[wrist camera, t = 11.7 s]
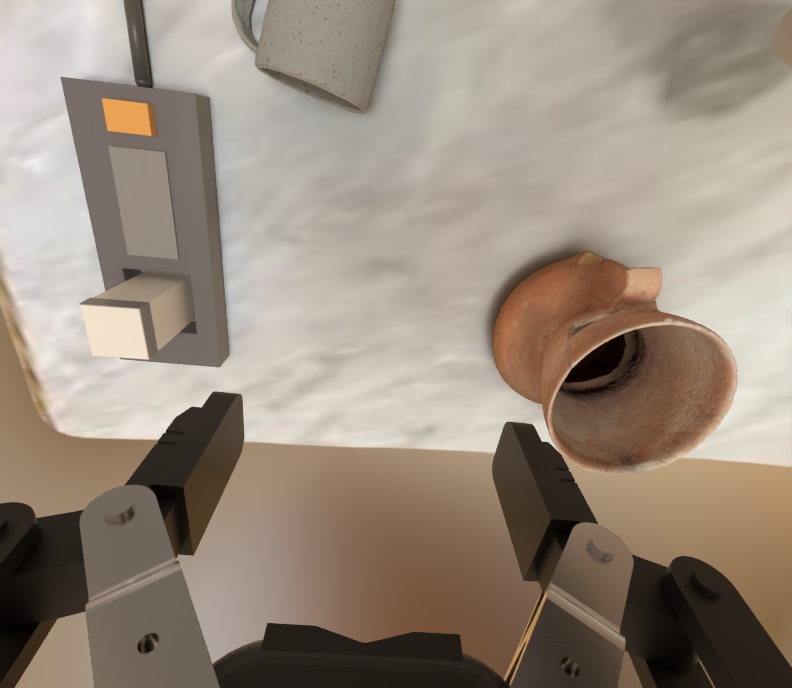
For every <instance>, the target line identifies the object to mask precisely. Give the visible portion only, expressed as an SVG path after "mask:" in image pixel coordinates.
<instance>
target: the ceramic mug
mask: <svg viewBox="0 0 792 688" xmlns="http://www.w3.org/2000/svg"><path fill="white" fill-rule="evenodd" d="M394 1H395V0H269V2H268V6H267V10H266V14H265V18H264V23H263V27H262V32H261V36H260V40H259V44H257V43H256V41H255V39H254V38H253V36H252V33H251V29H250V14H251V9H252V5H253V2H254V0H232V16H233V21H234V24H235V26H236V29H237V31H238V33H239V35H240V36H241V38H242V40H243V41H244V42H245V44H246V45H247V46H248V47H249V48H250V49H251V50H252V51H254V52H255V53H256V59H255V65H256V67H257V68H258V69H259V70H260V71H262V72H263V73H265V74H267V75H269V76H270V77H272V78H274V79H276V80H278V81H280V82H282V83H283V84H286V85H288V86H290V87H292V88H294V89H296V90H298V91H300V92H303V93H306V94H308V95H310V96H312V97H314V98H316V99H319V100H321V101H324V102H327V103H329V104H331V105H335V106H337V107H340V108H343V109H346V110H349V111H353V112H356V113H364V112H366V110H367V109H368V105H369V101H370V97H371V93H372V89H373V85H374V82H375V78H376V74H377V70H378V66H379V63H380V59H381V54H382V50H383V46H384V43H385V39H386V35H387V31H388V28H389V24H390V20H391V17H392V13H393V9H394Z"/></svg>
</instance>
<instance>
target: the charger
mask: <svg viewBox="0 0 792 688" xmlns="http://www.w3.org/2000/svg"><path fill="white" fill-rule="evenodd" d="M80 309H81V313H82V317H83V320H84V324H85V328H86V332H87V336H88V340H89V344H90V348H91V352H92V355H93V356H105V357H119V358H133V359H147V360H150V359H151V358H152V357H154V356H155V355H156V354H157V353H158V351H159V350H160V349H161V348H162V347H163V346H164V345H166V344H167V343H168V342H169V341H170V340H171V339H172V338H173V337H175V336H176V335H177V334H178V333H179V332H180V331H181V330H182V329H184V328H185V327H186V326H187V325H188V324H189V323H190V322H192V321H193V320H194V319H195V310H194V301H193V293H192V284H191V275H189V274H179V273H169V272H158V271H148V270H147V271H145V272H143V273H141V274H139V275H137V276H135V277H133V278H131V279H129V280H127V281H125V282H123V283H121V284H119V285H117V286H115V287H113V288H111V289H109V290H107V291H105V292H103V293H101V294H100V295H98V296H96V297H94V298H89V299H87V300H85V301H83V302H81V303H80Z"/></svg>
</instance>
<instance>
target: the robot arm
mask: <svg viewBox="0 0 792 688" xmlns="http://www.w3.org/2000/svg"><path fill="white" fill-rule="evenodd" d="M243 443H244V421H243V401H242V396H241V394H235V393H225V392H213V393H212V394H211V395H210V396H209V398H208V399H207V401H206V402H205V404H204V405H203V407H202V408H199V407H191V408H189V409H188V410H186V411H185V412H183V413H182V414H180V415H179V416H177V417H176V418H175V419H174V420H173V422H172V423H171V424H170V426H169V427H168V428H167V430H166V433H164V434H163V435H162V436H161V438H160V439H159V440H158V443H157V444H155V446H154V447H153V448H152V450H151V451H150V452H149V454H148V455H147V456H146V458H145V459H144V460H143V461H142V463H141V464H140V466H139V467H138V468H137V470H136V471H135V472H134V473H133V475H132V476H131V477H130V479H129V480H128V481H127V483H126V484H125V485H124V486H120V487H117V488H114V489H111V490H109V491H107V492H105V493H103V494H101V495H100V496H98V497H96V498H95V499H94V500H92V501H91V502H90V503H89V504H88V505H87V507H86V508H85V509H84V510H80V511H76V512H70V513H65V514H58V515H52V516H47V517H41V518H36V516H35V513H34V511H33V509H32V508H31V507H30V506H28V505H26V504H23V503H17V502H12V503H2V504H0V688H15V686H16V684H17V683H18V681H19V680H20V678H21V676H22V674H23V673H24V671H25V670H26V668H27V667H28V665H29V664H30V662H31V660H32V659H33V657H34V656H35V654H36V652H37V651H38V649H39V647H40V646H41V644H42V643H43V641H44V639H45V638H46V636H47V635H48V633H49V631H50V630H51V628H52V627H53V625H54V623H55V622H56V620H57V619H58V618H61V617H65V616H69V615H73V614H77V613H81V612H85V611H86V620H87V629H88V638H89V646H90V655H91V663H92V671H93V680H94V688H617V687H618V682H619V676H620V671H621V666H622V660H623V656H624V651H627V652H628V653H629V655H630V657H631V660H632V662H633V665H634V667H635V670H636V672H637V675H638V677H639V679H640V682H641V684H642V687H643V688H713V687H712V685H711V683H710V681H709V679H708V677H707V675H706V674H705V672H704V670H703V668H702V666H701V664H700V662H699V660H701V662H702V664H703V665H704V667H705V669H706V671H707V673H708V675H709V677H710V678H711V680H712V682H713V684H714V686H715V688H792V667H791V666H790V665H789V663H788V662H787V660H786V659H785V658H784V656H783V655H782V653H781V652H780V650H779V649H778V648H777V646H776V645H775V644H774V642H773V641H772V639H771V638H770V636H769V635H768V633H767V632H766V631H765V629H764V628H763V626H762V625H761V624H760V622H759V621H758V619H757V618H756V616H755V615H754V614H753V612H752V611H751V609H750V608H749V607H748V605H747V604H746V602H745V601H744V599H743V598H742V597H741V595H740V594H739V592H738V591H737V590H736V588H735V587H734V586H733V584H732V583H731V582H730V581H729V580H728V579H727V578H726V577H725V576H724V575H723V574H722V573H720V572H719V571H718V570H716V569H715V568H713V567H712V566H710V565H709V564H707V563H705V562H703V561H701V560H698V559H695V558H693V557H688V556H687V557H686V556H681V557H677V558H675V559H674V560H673V561H672V562H671V564H670V565H669V567H665V566H662V565H659V564H657V563H654V562H651V561H648V560H645V559H643V558H640V557H637V556H635V555H632V554H631V552H630V550H629V548H628V547H627V545H626V544H625V543H624V542H623V541H622V539H621V538H619V537H618V536H617V535H616V534H615V533H613V532H612V531H610V530H609V529H607V528H605V527H603V526H601V525H598V523H597V521H596V519H595V517H594V515H593V513H592V512H591V510H590V508H589V506H588V504H587V502H586V500H585V498H584V496H583V495H582V493H581V491H580V489H579V487H578V485H577V483H575V480H574V478H573V476H572V474H571V472H570V471H569V468H568V466H567V465H566V463H565V461H564V459H563V457H562V455H561V454H560V453H559V452H558V451H557V450H556V449H555V448H554V447H553V446H552V445H551V444H550V443H549V442H542V441H541V439H540V437H539V435H538V433H537V431H536V429H535V427H534V426H533V425H532V424H526V423H516V422H506V424H505V425H504V428H503V431H502V434H501V437H500V440H499V443H498V446H497V449H496V453H495V456H494V459H493V465H492V474H493V480H494V483H495V487H496V490H497V493H498V497H499V500H500V503H501V507H502V510H503V514H504V517H505V520H506V524H507V527H508V530H509V534H510V537H511V540H512V544H513V547H514V550H515V553H516V557H517V560H518V564H519V567H520V570H521V574H522V577H523V580H524V581H537V582H539V583H540V586H541V589H542V592H541V594H540V596H539V599H538V601H537V603H536V606H535V608H534V610H533V613H532V616H531V617H530V620H529V623H528V625H527V627H526V629H525V632H524V634H523V637H522V639H521V641H520V644H519V646H518V649H517V651H516V654H515V655H514V658H513V660H512V662H511V664H510V667H509V669H508V671H507V673H506V676H505V678H504V679H503V678H502V677H501V676H500V675H498V674H497V673H496V672H495V671H494V670H493V669H491V668H490V667H489V666H487V665H486V664H484V663H483V662H482V661H480V660H479V659H477V658H475V657H473V656H471V655H468V654H467V653H464V652H462V648H461V641H460V635H456V634H440V633H423V632H412V633H407V634H403V635H399V636H394V637H391V638H386V639H382V640H378V641H374V642H369V643H362V642H358V641H356V640H353V639H350V638H348V637H345V636H342V635H339V634H336V633H334V632H331V631H328V630H326V629H323V628H320V627H317V626H308V625H290V624H275V623H268V624H267V627H266V631H265V635H264V639H263V640H260V641H255V642H252V643H250V644H247V645H244V646H242V647H240V648H238V649H236V650H234V651H232V652H230V653H228V654H226V655H225V656H223V657H222V658H220V659H219V660H217V661H216V662H215V663H214V664H212V662H211V658H210V655H209V652H208V649H207V646H206V643H205V640H204V637H203V634H202V631H201V628H200V625H199V621H198V618H197V615H196V612H195V609H194V606H193V603H192V600H191V596H190V593H189V590H188V587H187V584H186V581H185V578H184V575H183V572H182V569H181V566H180V563H179V561H176V558H177V556H178V554H180V555H194V554H195V551H196V549H197V547H198V545H199V543H200V541H201V538H202V536H203V534H204V532H205V530H206V528H207V526H208V524H209V521H210V519H211V517H212V515H213V512H214V511H215V508H216V506H217V504H218V502H219V500H220V498H221V496H222V494H223V491H224V489H225V487H226V485H227V483H228V480H229V478H230V476H231V474H232V472H233V470H234V468H235V465H236V463H237V461H238V459H239V457H240V454H241V452H242V447H243Z"/></svg>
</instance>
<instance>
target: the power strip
mask: <svg viewBox="0 0 792 688" xmlns="http://www.w3.org/2000/svg"><path fill="white" fill-rule="evenodd" d="M124 7H125V14H126V21H127V28H128V35H129V42H130V49H131V56H132V63H133V69H134V76H135V82H136V84H137V85H138V86H139V87H137V86H129V85H121V84H113V83H106V82H98V81H90V80H82V79H74V78H66V77H61V81H62V86H63V91H64V96H65V100H66V105H67V110H68V115H69V119H70V124H71V129H72V134H73V138H74V143H75V148H76V153H77V157H78V162H79V167H80V172H81V176H82V181H83V186H84V191H85V195H86V200H87V205H88V210H89V214H90V219H91V224H92V229H93V233H94V238H95V243H96V248H97V252H98V257H99V262H100V267H101V271H102V276H103V281H104V286H105V290H106V291H107V290H109V289H111V288H113V287H115V286H117V285H119V284H121V283H123V282H125V281H127V280H129V279H131V278H133V277H135V276H137V275H139V274H141V270H148V271H158V272H169V273H179V274H189V275H191V284H192V293H193V301H194V310H195V319H196V322H190V323H189V324H188V325H187V326H186V327H185V328H184V329H182V330H181V331H180V332H179V333H178V334H177V335H176V336H175V337H173V338H172V339H171V340H170V341H169V342H168V343H167V344H166V345H164V346H163V347H162V348H161V349H160V350H159V351H158V353H157V354H156V355H155V356H154V357H152V358H151V359H150V360H147V359H133V358H120V359H125V360H137V361H150V362H162V363H174V364H186V365H199V366H211V367H221V365H222V364H223V363H224V361H225V360H226V359H227V357H228V356H229V344H228V331H227V319H226V306H225V293H224V280H223V267H222V255H221V242H220V229H219V216H218V203H217V191H216V178H215V165H214V152H213V139H212V127H211V114H210V101H209V98H208V97H205V96H201V95H198V94H193V93H185V92H177V91H169V90H161V89H153V88H150V86H151V79H150V72H149V64H148V56H147V48H146V41H145V33H144V25H143V18H142V10H141V2H140V0H124Z"/></svg>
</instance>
